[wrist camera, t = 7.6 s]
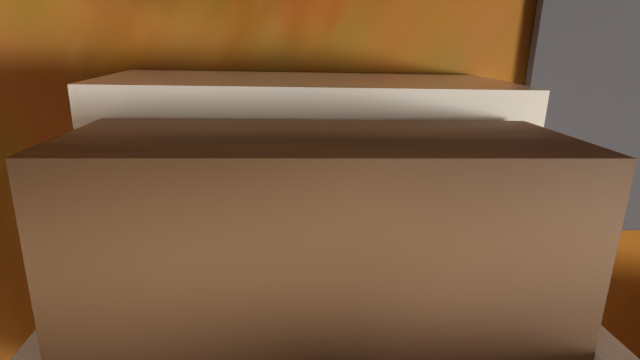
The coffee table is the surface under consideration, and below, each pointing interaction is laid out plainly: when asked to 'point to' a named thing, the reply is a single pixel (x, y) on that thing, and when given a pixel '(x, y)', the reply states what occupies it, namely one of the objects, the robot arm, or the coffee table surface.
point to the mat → (591, 76)
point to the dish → (303, 96)
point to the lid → (318, 239)
